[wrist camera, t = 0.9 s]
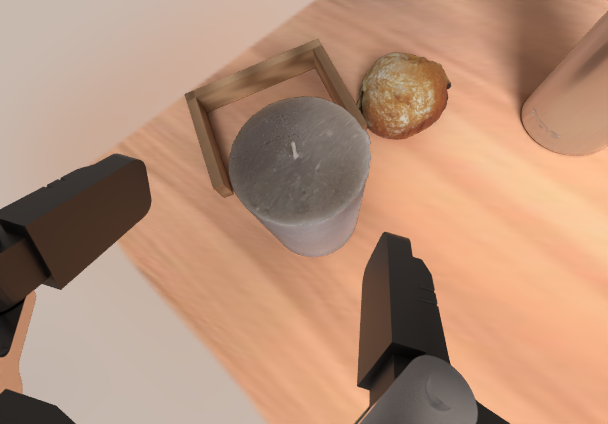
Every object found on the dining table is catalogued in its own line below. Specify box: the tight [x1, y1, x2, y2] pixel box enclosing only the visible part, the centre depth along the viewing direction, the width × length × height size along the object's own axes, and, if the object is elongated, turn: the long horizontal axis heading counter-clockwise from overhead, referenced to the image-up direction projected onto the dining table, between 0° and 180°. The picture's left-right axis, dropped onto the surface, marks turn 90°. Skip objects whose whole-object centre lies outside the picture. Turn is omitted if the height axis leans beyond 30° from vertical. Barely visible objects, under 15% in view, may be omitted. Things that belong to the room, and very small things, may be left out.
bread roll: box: [357, 52, 451, 140], centre depth 32 cm, size 10×10×8 cm
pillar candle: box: [228, 97, 371, 257], centre depth 24 cm, size 10×10×15 cm
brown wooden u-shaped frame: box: [185, 39, 367, 198], centre depth 34 cm, size 18×14×3 cm
